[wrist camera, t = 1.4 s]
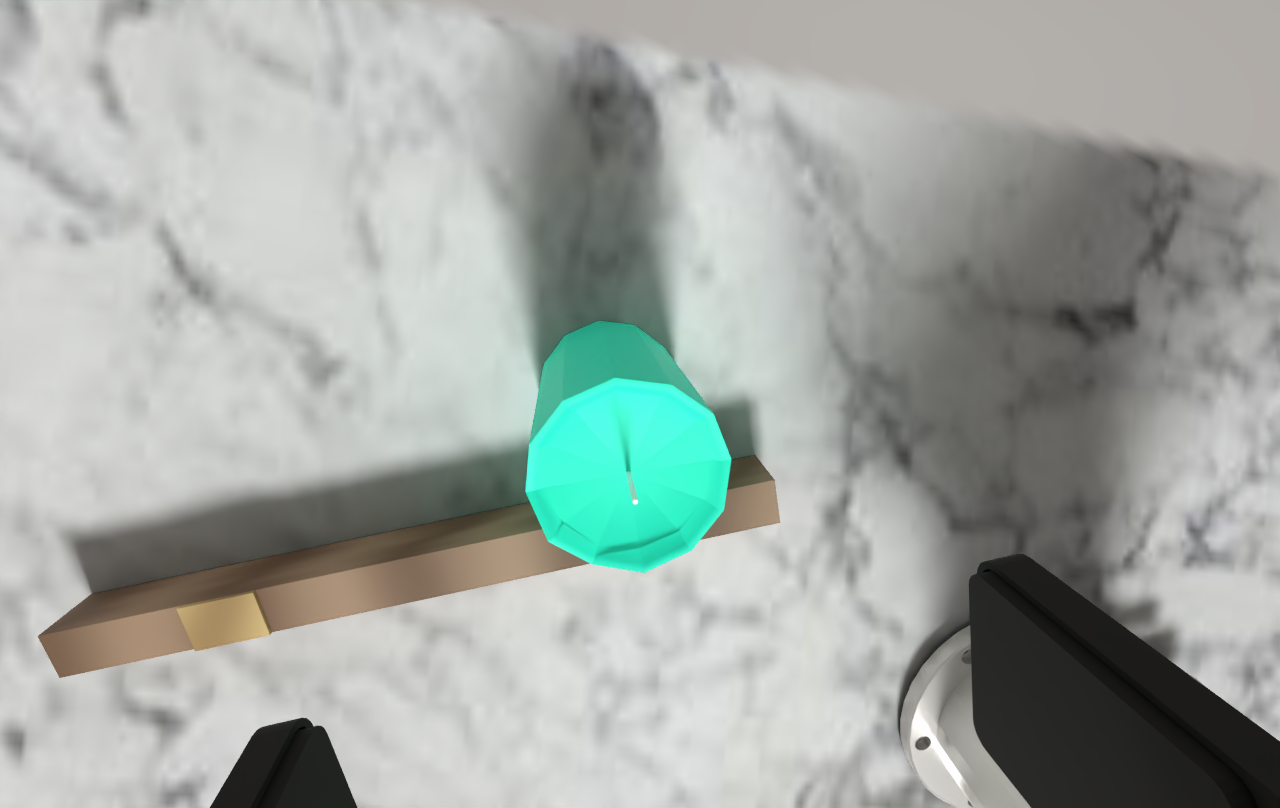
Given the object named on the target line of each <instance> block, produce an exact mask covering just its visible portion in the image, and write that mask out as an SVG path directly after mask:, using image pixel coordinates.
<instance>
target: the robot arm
mask: <svg viewBox="0 0 1280 808" xmlns="http://www.w3.org/2000/svg"><path fill="white" fill-rule="evenodd" d="M969 604H970V625H969V626H967V627H966V628H964V629H962V630H960V631H959V632H957V633H956V634H954V635H953V636H952V637H951V638H950V639H948V640H947V641H946V642H945V643H943V644H942V645H941V646H940V647H939V648H938V649H937V650H936V651H935V652H934V653H933V654H932V655H931V656H930V658H929V659H928V660H927V661H926V662H925V663H924V664H923V666H922V667H921V669H920V670H919V672H918V674H917V675H916V677H915V678H914V680H913V681H912V683H911V686H910V688H909V690H908V693H907V695H906V698H905V700H904V704H903V709H902V714H901V719H900V735H901V742H902V746H903V749H904V753H905V756H906V758H907V759H908V761H909V763H910V765H911V767H912V769H913V770H914V772H915V774H916V775H917V776H918V778H919V779H920V781H921V782H922V783H923V785H924V786H925V787H926V788H927V789H928V790H929V791H930V792H931V793H933V794H934V795H935V796H936V797H937V798H939V799H940V800H942V801H944V802H946V803H948V804H950V805H952V806H954V807H958V808H1280V741H1278V740H1277V739H1276V738H1274V737H1273V736H1272V735H1270V734H1269V733H1268V732H1266V731H1265V730H1263V729H1262V728H1261V727H1259V726H1258V725H1257V724H1255V723H1254V722H1253V721H1251V720H1250V719H1249V718H1247V717H1246V716H1244V715H1243V714H1242V713H1240V712H1239V711H1238V710H1236V709H1235V708H1234V707H1232V706H1231V705H1229V704H1228V703H1227V702H1225V701H1224V700H1223V699H1221V698H1220V697H1219V696H1217V695H1216V694H1215V693H1213V692H1212V691H1210V690H1209V689H1208V688H1206V687H1205V686H1204V685H1202V684H1201V683H1200V682H1199V681H1198V680H1197V679H1196V678H1195V677H1193V676H1190V675H1189V674H1187V673H1186V672H1185V671H1183V670H1182V669H1181V668H1179V667H1178V666H1176V665H1175V664H1174V663H1172V662H1171V661H1170V660H1168V659H1167V658H1166V657H1164V656H1163V655H1161V654H1160V653H1159V652H1157V651H1156V650H1155V649H1153V648H1152V647H1151V646H1149V645H1148V644H1147V643H1145V642H1144V641H1142V640H1141V639H1140V638H1138V637H1137V636H1136V635H1134V634H1133V633H1132V632H1130V631H1129V630H1127V629H1126V628H1125V627H1123V626H1122V625H1121V624H1119V623H1118V622H1117V621H1115V620H1114V619H1113V618H1111V617H1110V616H1108V615H1107V614H1106V613H1104V612H1103V611H1102V610H1100V609H1099V608H1098V607H1096V606H1095V605H1093V604H1092V603H1091V602H1089V601H1088V600H1087V599H1085V598H1084V597H1083V596H1081V595H1080V594H1079V593H1077V592H1076V591H1074V590H1073V589H1072V588H1070V587H1069V586H1068V585H1066V584H1065V583H1064V582H1062V581H1061V580H1059V579H1058V578H1057V577H1055V576H1054V575H1053V574H1051V573H1050V572H1049V571H1047V570H1046V569H1045V568H1043V567H1042V566H1040V565H1039V564H1038V563H1036V562H1035V561H1034V560H1032V559H1031V558H1029V557H1028V556H1026V555H1024V554H1016V555H1011V556H1007V557H1003V558H998V559H994V560H990V561H985V562H983V563H981V564H980V565H979V567H978V571H977V574H975V575H973V576H971V578H970V580H969ZM210 808H357V806H356V803H355V801H354V798H353V796H352V794H351V791H350V789H349V786H348V784H347V781H346V779H345V776H344V774H343V771H342V769H341V766H340V764H339V761H338V759H337V757H336V754H335V752H334V749H333V747H332V744H331V742H330V739H329V737H328V734H327V732H326V731H325V729H324V728H323V727H322V726H313V725H312V723H311V721H309V720H308V719H307V718H299V719H295V720H291V721H286V722H282V723H277V724H273V725H269V726H264V727H261V728H260V729H258V730H257V731H256V732H255V733H254V735H253V736H252V737H251V739H250V741H249V742H248V744H247V746H246V747H245V749H244V751H243V753H242V754H241V756H240V758H239V759H238V761H237V763H236V764H235V766H234V768H233V769H232V771H231V773H230V775H229V776H228V778H227V780H226V781H225V783H224V785H223V786H222V788H221V790H220V791H219V793H218V795H217V796H216V798H215V800H214V802H213V803H212V805H211V807H210Z"/></svg>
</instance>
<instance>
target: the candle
mask: <svg viewBox="0 0 1280 808" xmlns="http://www.w3.org/2000/svg"><path fill="white" fill-rule="evenodd" d="M730 466H731V457H730V454H729V452H728V449H727V446H726V444H725V441H724V439H723V436H722V434H721V431H720V429H719V426H718V423H717V421H716V418H715V416H714V414H713V412H712V411H711V410H710V408H709V407H708V406H707V404H706V403H705V401H704V400H703V399H702V397H701V396H700V395H699V393H698V392H697V391H696V389H695V388H694V387H693V385H692V384H691V383H690V381H689V380H688V379H687V377H686V376H685V375H684V373H683V372H682V371H681V369H680V368H679V367H678V365H677V364H676V363H675V361H674V360H673V359H672V357H671V356H670V355H669V353H668V352H667V351H666V349H665V348H664V347H663V345H661V344H660V343H659V342H657V341H656V340H654V339H653V338H652V337H650V336H649V335H648V334H646V333H645V332H644V331H642V330H641V329H640V328H638V327H637V326H636V325H634V324H625V323H616V322H607V321H596V322H594V323H592V324H589V325H587V326H585V327H582V328H580V329H578V330H575V331H573V332H571V333H569V334H566V335H565V336H564V337H563V338H562V340H561V341H560V342H559V344H558V345H557V347H556V348H555V349H554V351H553V352H552V353H551V355H550V356H549V357H548V359H547V360H546V362H545V363H544V365H543V370H542V376H541V381H540V387H539V393H538V398H537V404H536V409H535V415H534V420H533V426H532V432H531V437H530V443H529V453H528V465H527V478H526V491H525V492H526V494H527V497H528V499H529V501H530V503H531V505H532V507H533V510H534V512H535V514H536V516H537V518H538V521H539V523H540V525H541V527H542V529H543V532H544V534H545V536H546V538H547V540H548V542H550V543H552V544H554V545H555V546H557V547H559V548H561V549H563V550H565V551H567V552H569V553H571V554H573V555H575V556H577V557H579V558H581V559H583V560H585V561H586V562H588V563H590V564H594V565H600V566H606V567H612V568H618V569H624V570H630V571H636V572H642V573H645V572H647V571H649V570H651V569H653V568H655V567H658V566H660V565H662V564H664V563H666V562H668V561H670V560H672V559H674V558H677V557H679V556H681V555H683V554H685V553H687V552H689V551H691V550H692V549H693V548H694V547H695V546H696V544H697V543H698V542H699V541H700V539H701V538H702V537H703V536H704V534H705V533H706V532H707V531H708V529H709V528H710V527H711V526H712V524H713V523H714V522H715V521H716V519H717V518H718V517H719V516H720V515H721V513H722V512H723V511H724V507H725V500H726V493H727V486H728V479H729V473H730Z"/></svg>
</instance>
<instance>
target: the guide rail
mask: <svg viewBox="0 0 1280 808" xmlns="http://www.w3.org/2000/svg"><path fill="white" fill-rule="evenodd" d="M776 523H780V518H779V510H778V503H777V495H776V487H775V480H774V479H773V477H772V476H771V475H770V474H769V472H768V471H767V470H766V468H765V467H764V466H763V465H762V463H761V462H760V461H759V460H758V458H757V457H756V456H755V455H753V456H748V457H743V458H738V459H733V460H731V466H730V473H729V479H728V486H727V493H726V500H725V507H724V511H723V512H722V513H721V515H720V516H719V517H718V518H717V519H716V521H715V522H714V523H713V524H712V526H711V527H710V528H709V529H708V531H707V532H706V533H705V534H704V536H703V537H702V538H701V539H706V538H711V537H715V536H720V535H725V534H729V533H734V532H738V531H743V530H748V529H752V528H757V527H762V526H766V525H771V524H776ZM701 539H700V540H701ZM585 564H590V563H588V562H586V561H585V560H583V559H581V558H579V557H577V556H575V555H573V554H571V553H569V552H567V551H565V550H563V549H561V548H559V547H557V546H555V545H554V544H552V543H550V542H548V540H547V538H546V536H545V534H544V532H543V529H542V527H541V525H540V523H539V521H538V518H537V516H536V514H535V512H534V510H533V507H532V505H531V503H530V502H529V503H524V504H519V505H514V506H510V507H505V508H500V509H495V510H490V511H486V512H481V513H476V514H471V515H467V516H462V517H457V518H452V519H448V520H443V521H438V522H433V523H428V524H424V525H419V526H414V527H409V528H405V529H400V530H395V531H390V532H386V533H381V534H376V535H371V536H367V537H362V538H357V539H352V540H347V541H343V542H338V543H333V544H328V545H324V546H319V547H314V548H309V549H305V550H300V551H295V552H290V553H286V554H281V555H276V556H271V557H266V558H262V559H257V560H252V561H247V562H243V563H238V564H233V565H228V566H224V567H219V568H214V569H209V570H204V571H200V572H195V573H190V574H185V575H181V576H176V577H171V578H166V579H162V580H157V581H152V582H147V583H143V584H138V585H133V586H128V587H123V588H119V589H114V590H109V591H104V592H100V593H95V594H91V595H90V596H88V597H87V598H86V599H85V600H83V601H82V602H81V603H80V604H78V605H77V606H76V607H74V608H73V609H72V610H71V611H69V612H68V613H67V614H65V615H64V616H63V617H62V618H60V619H59V620H58V621H57V622H55V623H54V624H53V625H51V626H50V627H49V628H48V629H46V630H45V631H44V632H43V633H41V634H40V635H39V636H38V638H39V640H40V641H41V643H42V645H43V647H44V649H45V651H46V653H47V655H48V657H49V659H50V660H51V662H52V664H53V666H54V668H55V670H56V672H57V674H58V676H59V677H60V678H61V677H66V676H71V675H75V674H80V673H85V672H89V671H94V670H99V669H103V668H108V667H112V666H117V665H122V664H126V663H131V662H136V661H140V660H145V659H150V658H154V657H159V656H163V655H168V654H173V653H177V652H182V651H187V650H191V649H194V650H195V651H198V650H203V649H208V648H212V647H217V646H222V645H226V644H231V643H235V642H240V641H245V640H249V639H254V638H259V637H263V636H268V635H270V634H271V633H272V632H275V631H279V630H284V629H289V628H293V627H298V626H303V625H307V624H312V623H317V622H321V621H326V620H330V619H335V618H340V617H344V616H349V615H354V614H358V613H363V612H368V611H372V610H377V609H381V608H386V607H391V606H395V605H400V604H405V603H409V602H414V601H419V600H423V599H428V598H432V597H437V596H442V595H446V594H451V593H456V592H460V591H465V590H470V589H474V588H479V587H483V586H488V585H493V584H497V583H502V582H507V581H511V580H516V579H521V578H525V577H530V576H534V575H539V574H544V573H548V572H553V571H558V570H562V569H567V568H572V567H576V566H581V565H585Z"/></svg>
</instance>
